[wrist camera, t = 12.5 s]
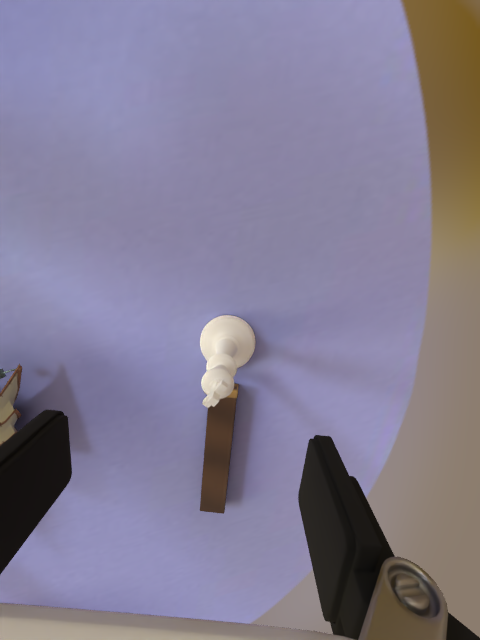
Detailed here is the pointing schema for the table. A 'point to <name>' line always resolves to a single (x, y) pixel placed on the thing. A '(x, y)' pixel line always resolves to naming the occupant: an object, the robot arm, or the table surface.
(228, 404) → the walnut stick
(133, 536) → the table surface
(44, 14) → the table surface
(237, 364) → the chess piece
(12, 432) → the figurine
